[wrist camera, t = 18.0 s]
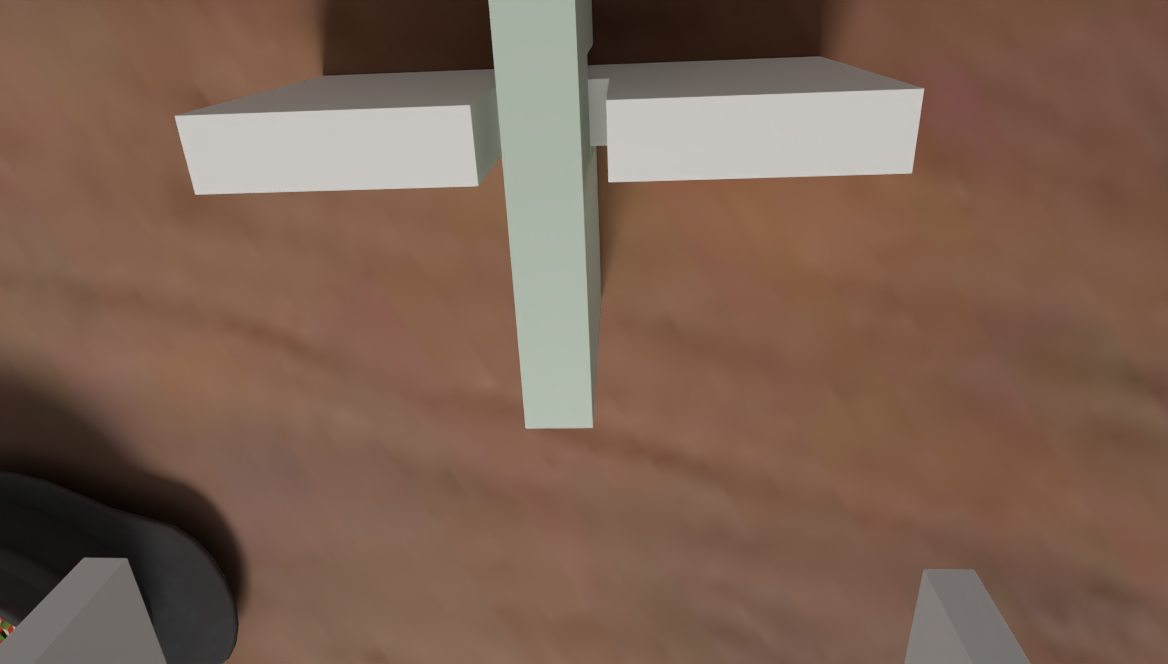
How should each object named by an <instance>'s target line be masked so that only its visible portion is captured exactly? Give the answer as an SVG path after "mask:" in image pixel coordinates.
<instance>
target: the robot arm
mask: <svg viewBox="0 0 1168 664" xmlns="http://www.w3.org/2000/svg"><path fill="white" fill-rule="evenodd" d="M0 664H167V663H166V660H165V658H164V655H163V652H162V650H161V647H160V644H159V642H158V639H157V636H156V634H155V631H154V628H153V626H152V623H151V620H150V618H149V615H148V612H147V610H146V607H145V604H144V602H143V599H142V596H141V594H140V591H139V588H138V586H137V583H136V580H135V578H134V575H133V572H132V570H131V567H130V565H129V562H128V559H127V558H83V559H82V560H81V561H80V562H79V563H78V564H77V565H76V566H75V567H74V568H73V569H72V570H71V571H70V573H69V574H68V575H67V576H66V577H65V578H64V579H63V580H62V581H61V582H60V583H59V584H58V585H57V586H56V587H55V588H54V589H53V590H52V591H51V592H50V593H49V594H48V595H47V596H46V597H45V598H44V599H43V600H42V601H41V602H40V603H39V604H38V605H37V607H36V608H35V609H34V610H33V611H32V612H31V613H30V614H29V615H28V616H27V617H26V618H25V619H24V620H23V621H22V622H21V623H20V624H19V625H18V626H17V627H16V628H15V629H14V630H13V631H12V632H11V633H10V634H9V635H8V636H7V637H6V638H5V639H4V640H3V642H2V643H1V644H0ZM904 664H1030V662H1029V660H1028V659H1027V657H1026V655H1025V654H1024V652H1023V650H1022V649H1021V647H1020V645H1019V644H1018V642H1017V640H1016V639H1015V637H1014V635H1013V634H1012V632H1011V630H1010V629H1009V627H1008V625H1007V624H1006V622H1005V620H1004V619H1003V617H1002V615H1001V614H1000V612H999V610H998V609H997V607H996V605H995V604H994V602H993V600H992V599H991V597H990V595H989V594H988V592H987V590H986V589H985V587H984V585H983V584H982V582H981V581H980V579H979V577H978V576H977V574H976V572H975V571H974V570H956V569H924V571H923V576H922V581H921V585H920V590H919V595H918V600H917V605H916V610H915V614H914V619H913V624H912V629H911V634H910V639H909V643H908V648H907V653H906V658H905V663H904Z"/></svg>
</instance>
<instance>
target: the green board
mask: <svg viewBox="0 0 1168 664" xmlns="http://www.w3.org/2000/svg"><path fill="white" fill-rule="evenodd" d="M488 1H489V12H490V24H491V35H492V47H493V58H494V70H495V81H496V93H497V104H498V116H499V127H500V139H501V150H502V162H503V173H504V185H505V196H506V208H507V219H508V231H509V242H510V254H511V265H512V277H513V288H514V300H515V311H516V323H517V334H518V346H519V357H520V369H521V380H522V392H523V403H524V415H525V426H526V428H593V419H594V404H595V389H596V375H597V360H598V345H599V330H600V315H601V301H602V298H601V268H600V238H599V208H598V178H597V147H596V146H590V121H589V94H588V67H587V54H588V52H589V50H590V49H591V47H592V45H593V27H592V0H488Z"/></svg>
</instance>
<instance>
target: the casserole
mask: <svg viewBox="0 0 1168 664" xmlns="http://www.w3.org/2000/svg"><path fill="white" fill-rule="evenodd" d="M83 558H127V559H128V562H129V565H130V567H131V570H132V572H133V575H134V578H135V580H136V583H137V586H138V588H139V591H140V594H141V596H142V599H143V602H144V604H145V607H146V610H147V612H148V615H149V618H150V620H151V623H152V626H153V628H154V631H155V634H156V636H157V639H158V642H159V644H160V647H161V650H162V652H163V655H164V658H165V660H166V663H167V664H222V663H224V662H225V661H226V660H227V659H229V658H230V655H231V653H232V651H233V649H234V647H235V645H236V641H237V633H238V625H239V623H238V616H237V608H236V602H235V599H234V597H233V594H232V592H231V589H230V586H229V584H228V581H227V579H226V577H225V576H224V574H223V573H222V571H221V569H220V568H219V566H218V565H217V563H216V562H215V560H214V558H213V557H212V556H211V555H210V554H209V553H208V552H207V551H206V549H205V548H204V547H203V546H202V545H201V544H200V543H199V542H198V541H197V540H196V539H195V538H193V537H192V536H190V535H189V534H187V533H186V532H184V531H182V530H181V529H179V528H178V527H176V526H174V525H172V524H169V523H165V522H161V521H158V520H154V519H151V518H147V517H144V516H140V515H137V514H133V513H129V512H126V511H122V510H119V509H115V508H112V507H110V506H107V505H105V504H102V503H100V502H98V501H95V500H93V499H91V498H88V497H86V496H84V495H81V494H79V493H77V492H74V491H72V490H69V489H67V488H65V487H62V486H60V485H57V484H55V483H53V482H50V481H47V480H43V479H39V478H35V477H32V476H28V475H24V474H20V473H16V472H7V471H0V644H1V643H2V642H3V640H4V639H5V638H6V637H7V636H8V635H9V634H10V633H11V632H12V631H13V630H14V629H15V628H16V627H17V626H18V625H19V624H20V623H21V622H22V621H23V620H24V619H25V618H26V617H27V616H28V615H29V614H30V613H31V612H32V611H33V610H34V609H35V608H36V607H37V605H38V604H39V603H40V602H41V601H42V600H43V599H44V598H45V597H46V596H47V595H48V594H49V593H50V592H51V591H52V590H53V589H54V588H55V587H56V586H57V585H58V584H59V583H60V582H61V581H62V580H63V579H64V578H65V577H66V576H67V575H68V574H69V573H70V571H71V570H72V569H73V568H74V567H75V566H76V565H77V564H78V563H79V562H80V561H81V560H82V559H83Z"/></svg>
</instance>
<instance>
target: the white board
mask: <svg viewBox="0 0 1168 664" xmlns="http://www.w3.org/2000/svg"><path fill="white" fill-rule="evenodd" d="M587 67H588V94H589V121H590V146H607V150H608V182H636V181H669V180H703V179H737V178H771V177H805V176H838V175H872V174H906V173H912V168H913V162H914V155H915V148H916V141H917V134H918V127H919V121H920V114H921V107H922V100H923V93H924V88H921V87H917V86H914V85H911V84H908V83H904V82H901V81H898V80H895V79H892V78H888V77H885V76H882V75H879V74H876V73H872V72H869V71H866V70H863V69H859V68H856V67H853V66H850V65H847V64H843V63H840V62H837V61H834V60H830V59H827V58H824V57H821V56H814V57H788V58H763V59H737V60H712V61H686V62H661V63H636V64H610V65H587ZM175 120H176V124H177V127H178V131H179V135H180V139H181V142H182V146H183V150H184V154H185V157H186V161H187V165H188V169H189V172H190V176H191V180H192V184H193V187H194V191H195V195H197V194H230V193H264V192H298V191H332V190H365V189H399V188H433V187H467V186H479V184H480V183H481V182H482V181H483V179H484V178H485V177H486V175H487V174H488V173H489V171H490V170H491V169H492V167H493V166H494V165H495V163H496V162H497V161H498V159H499V158H500V157H501V155H502V150H501V139H500V127H499V116H498V104H497V93H496V81H495V70H494V69H483V70H457V71H432V72H407V73H381V74H356V75H330V76H320V77H316V78H313V79H309V80H305V81H302V82H298V83H294V84H291V85H287V86H283V87H279V88H276V89H272V90H268V91H265V92H261V93H257V94H254V95H250V96H246V97H242V98H239V99H235V100H231V101H228V102H224V103H220V104H217V105H213V106H209V107H206V108H202V109H198V110H194V111H191V112H187V113H183V114H180V115H176V116H175Z"/></svg>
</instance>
